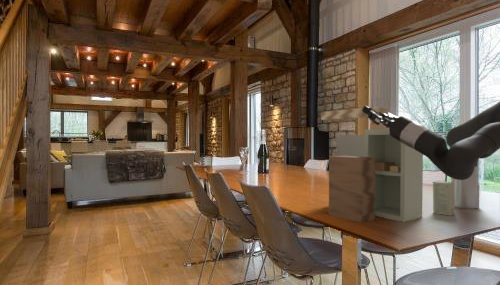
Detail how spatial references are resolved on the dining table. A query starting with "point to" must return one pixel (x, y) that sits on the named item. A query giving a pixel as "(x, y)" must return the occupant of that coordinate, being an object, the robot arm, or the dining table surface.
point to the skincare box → (443, 198)
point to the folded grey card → (350, 145)
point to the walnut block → (352, 187)
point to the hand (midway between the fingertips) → (367, 108)
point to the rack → (395, 175)
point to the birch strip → (350, 113)
